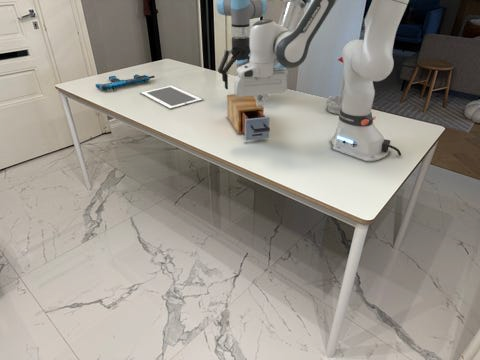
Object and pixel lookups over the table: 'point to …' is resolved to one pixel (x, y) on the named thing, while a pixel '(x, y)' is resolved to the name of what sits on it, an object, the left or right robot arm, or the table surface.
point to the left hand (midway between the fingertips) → (240, 87)
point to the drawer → (254, 125)
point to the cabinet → (240, 109)
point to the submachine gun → (123, 82)
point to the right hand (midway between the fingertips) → (260, 105)
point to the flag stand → (336, 98)
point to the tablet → (171, 96)
